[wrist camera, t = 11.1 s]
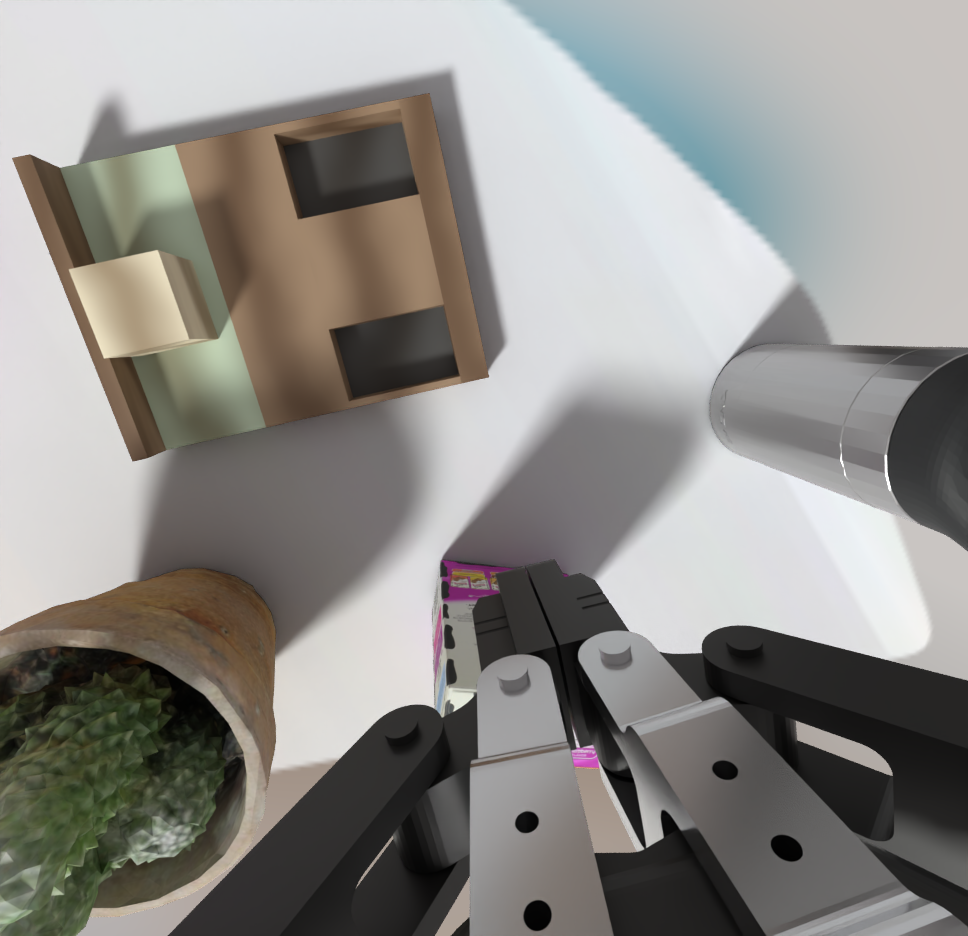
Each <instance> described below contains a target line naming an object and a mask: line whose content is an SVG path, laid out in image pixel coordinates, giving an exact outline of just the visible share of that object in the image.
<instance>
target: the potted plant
mask: <svg viewBox="0 0 968 936" xmlns="http://www.w3.org/2000/svg"><path fill="white" fill-rule="evenodd" d="M275 639H276V630H275V626H274V622H273V619H272V615H271V612H270V610H269V609H268V607H267V605H266V604H265V602H264V600H263V599H262V598H261V597H260V596H259V595H258V594H257V593H256V592H255V590H254V588H253V586H251V585H250V584H248V583H246V582H244V581H242V580H241V579H239V578H237V577H235V576H232V575H228V574H225V573H221V572H217V571H213V570H209V569H204V568H194V569H179V570H176V571H173V572H170V573H166V574H163V575H160V576H158V577H154V578H151V579H148V580H145V581H139V582H128V583H125V584H123V585H121V586H119V587H117V588H115V589H113V590H111V591H108V592H105V593H102V594H100V595H97V596H94V597H92V598H89V599H86V600H79V601H75V602H70V603H66V604H62V605H58V606H54V607H52V608H49V609H47V610H45V611H42V612H40V613H38V614H36V615H33V616H31V617H29V618H26V619H24V620H22V621H19V622H17V623H15V624H13V625H11V626H9V627H7V628H6V629H4V630H2V631H0V936H76V935H77V934H78V933H79V932H80V931H81V930H82V929H83V928H84V927H85V926H86V924H87V921H88V919H89V917H119V916H123V915H127V914H131V913H135V912H139V911H143V910H147V909H151V908H155V907H159V906H162V905H165V904H168V903H170V902H173V901H176V900H178V899H181V898H183V897H186V896H188V895H190V894H192V893H194V892H196V891H198V890H199V889H201V888H203V887H204V886H205V885H207V884H208V883H209V882H211V881H212V880H213V879H215V878H216V877H218V876H219V875H220V874H222V873H223V872H225V871H226V870H227V869H229V868H230V867H231V866H233V865H234V864H235V863H236V862H237V860H238V859H239V858H240V857H241V856H242V854H243V853H244V852H245V851H246V850H247V848H248V847H249V846H250V845H251V843H252V840H253V838H254V836H255V833H256V831H257V829H258V826H259V824H260V822H261V820H262V817H263V815H264V811H265V801H266V790H267V786H268V781H269V776H270V770H271V765H272V760H273V756H274V750H275V743H276V725H275V718H274V712H273V696H274V675H275Z"/></svg>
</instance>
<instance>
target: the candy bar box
mask: <svg viewBox="0 0 968 936" xmlns="http://www.w3.org/2000/svg"><path fill="white" fill-rule="evenodd" d="M511 569H515V568H505V567H497V566H488V565H480V564H471V563H462V562H454V561H446V560H441V561H440V567H439V573H438V579H437V585H436V591H435V597H434V603H433V609H432V625H433V657H434V660H433V662H434V695H435V710H437V711H438V712H439V713H440V715H441V717H444V716H446V715H448V714H450V713H452V712H454V711H456V710H457V709H459V708H461V707H462V706H464V705H465V704H466V703H468V702H469V701H470V700H471V699H472V698H473V697H474V695H475V694H476V693H477V681H478V678H479V676H480V674H481V667H480V661H479V654H478V648H477V641H476V634H475V628H474V621H473V615H472V610H473V608H474V606H475V604H476V602H477V600H478V599H479V598H481V597H485V596H489V595H493V594H497V593H499V589H498V585H497V580H496V575H495V573H499V572H503V571H507V570H511ZM525 571H526V570H525ZM526 574H527V573H526ZM563 575H564V577H567V576H569V575H567V574H563ZM573 732H574V730H573ZM574 737H575V742H576V747H577V749H576V750H572V751H571V753H572V757H573V762H574V767H575V768H591V769H600V768H599V763H598V757H597V754H596V751H595V749H594V746H593V745H591V746H587V747H583V748H580V746H579V743H578V741H577V738H576V735H575V733H574Z"/></svg>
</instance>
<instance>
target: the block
mask: <svg viewBox="0 0 968 936" xmlns="http://www.w3.org/2000/svg"><path fill="white" fill-rule="evenodd" d="M69 272H70V274H71V277H72V279H73V282H74V284H75V287H76V289H77V292H78V295H79V297H80V300H81V302H82V305H83V307H84V310H85V312H86V315H87V317H88V320H89V322H90V325H91V327H92V330H93V332H94V335H95V337H96V340H97V342H98V345H99V347H100V350H101V352H102V355H103V357H104V358H118V357H133V356H145V355H150V354H154V353H158V352H163V351H167V350H172V349H176V348H180V347H185V346H189V345H194V344H198V343H203V342H207V341H211V340H216V339H219V338H218V335H217V332H216V329H215V327H214V324H213V321H212V318H211V315H210V312H209V309H208V306H207V303H206V300H205V297H204V294H203V291H202V288H201V286H200V283H199V280H198V277H197V274H196V271H195V268H194V265H193V262H192V261H191V260H188V259H185V258H181V257H178V256H175V255H172V254H169V253H166V252H162V251H159V250H155V251H151V252H146V253H141V254H137V255H132V256H128V257H123V258H119V259H114V260H109V261H105V262H100V263H96V264H91V265H87V266H82V267H77V268H73V269H69Z"/></svg>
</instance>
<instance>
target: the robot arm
mask: <svg viewBox="0 0 968 936" xmlns="http://www.w3.org/2000/svg"><path fill="white" fill-rule="evenodd" d="M710 419H711V424H712V427H713V429H714V431H715V434H716V436H717V437H718V439H719V440H720V441H721V442H722V444H723V445H724V446H725V447H727V448H728V449H729V450H731V451H732V452H734V453H736V454H739V455H741V456H743V457H746V458H748V459H751V460H754V461H756V462H759V463H761V464H764V465H766V466H769V467H771V468H774V469H776V470H779V471H781V472H784V473H787V474H789V475H792V476H794V477H797V478H800V479H802V480H805V481H807V482H810V483H813V484H815V485H818V486H820V487H823V488H826V489H828V490H831V491H833V492H836V493H839V494H841V495H844V496H846V497H849V498H852V499H854V500H857V501H859V502H862V503H865V504H867V505H870V506H872V507H875V508H878V509H881V510H883V511H886V512H889V513H891V514H894V515H896V516H899V517H902V518H904V519H907V520H910V521H912V522H915V523H917V524H920V525H923V526H925V527H928V528H930V529H933V530H935V531H938V532H940V533H943V534H944V535H946V536H948V537H950V538H951V539H953V540H954V541H955V542H957V543H958V544H959V545H961V546H962V547H963V548H964V549H966V550H967V551H968V348H963V347H962V348H961V347H902V346H857V345H854V346H853V345H811V344H763V345H758V346H754V347H752V348H750V349H747V350H745V351H743V352H742V353H740V354H739V355H738V356H736V357H735V358H733V359H732V360H731V361H730V362H729V363H728V364H727V366H726V367H725V368H724V369H723V370H722V372H721V374H720V375H719V377H718V378H717V380H716V383H715V385H714V387H713V390H712V394H711V399H710ZM526 573H527V574H526ZM495 575H496V580H497V585H498V589H499V593H497V594H493V595H489V596H485V597H481V598H479V599H478V600H477V602H476V604H475V606H474V608H473V610H472V615H473V621H474V628H475V634H476V641H477V648H478V654H479V661H480V667H481V674H480V676H479V678H478V681H477V693H476V694H475V695H474V697H473V698H472V699H471V700H470V701H469V702H468V703H466V704H465V705H464V706H462V707H461V708H459V709H457V710H456V711H454V712H452V713H450V714H448V715H446V716H444V717H441V715H440V713H439V712H438V711H437V710H435V709H434V708H432V707H429V706H426V705H409V706H404V707H401V708H398V709H396V710H393V711H391V712H389V713H388V714H386V715H384V716H383V717H382V718H380V719H379V720H378V721H377V722H376V723H374V724H373V725H372V727H371V728H370V729H369V730H368V731H367V732H366V733H365V734H364V735H363V736H362V737H361V738H360V739H359V740H358V741H357V742H356V743H355V744H354V745H353V746H352V747H351V748H350V749H349V750H348V751H347V752H346V753H345V754H344V755H343V756H342V757H341V758H340V759H339V760H338V761H337V762H336V764H335V765H334V766H333V767H332V768H331V769H330V770H329V771H328V772H327V773H326V774H325V775H324V776H323V777H322V778H321V779H320V780H319V781H318V782H317V783H316V784H315V785H314V786H313V787H312V788H311V789H310V790H309V792H307V794H305V795H304V796H303V798H301V799H300V800H299V802H298V803H297V804H296V805H295V806H294V807H293V808H292V809H291V810H290V811H289V812H288V813H287V814H286V815H285V816H284V817H283V818H282V819H281V820H280V821H279V822H278V823H277V824H276V825H275V826H274V827H273V828H272V829H271V830H270V831H269V832H268V834H266V835H265V836H264V838H263V839H262V840H261V841H260V842H259V843H258V844H257V845H256V846H255V847H254V848H253V849H252V850H251V851H250V852H249V853H248V854H247V855H246V856H245V857H244V858H243V859H242V860H241V861H240V862H239V863H238V864H237V865H236V866H235V867H234V868H233V869H232V871H230V872H229V874H227V876H226V877H225V878H224V879H223V880H222V881H221V882H220V883H219V884H218V885H217V886H216V887H215V888H214V889H213V890H212V891H211V892H210V893H209V894H208V895H207V896H206V897H205V898H204V899H203V900H202V901H201V902H200V903H199V904H198V905H197V906H196V907H195V908H194V910H192V912H191V913H190V914H189V915H188V916H187V917H186V918H185V919H184V920H183V921H182V922H181V923H180V924H179V925H178V926H177V927H176V928H175V929H174V930H173V931H172V932H171V933H170V934H169V935H168V936H435V934H436V933H437V931H438V929H439V927H440V926H441V924H442V922H443V921H444V919H445V917H446V916H447V914H448V912H449V910H450V909H451V907H452V905H453V904H454V902H455V900H456V899H457V897H458V895H459V893H460V892H461V890H462V888H463V886H464V885H465V883H466V881H467V880H468V878H469V876H470V917H469V918H468V919H467V920H466V921H465V922H464V923H463V924H462V925H461V926H460V927H459V928H457V929H456V931H455V932H454V933H453V934H452V935H451V936H968V681H967V680H963V679H959V678H955V677H951V676H947V675H943V674H939V673H935V672H932V671H928V670H924V669H920V668H916V667H912V666H908V665H903V664H900V663H896V662H892V661H888V660H884V659H880V658H876V657H872V656H869V655H865V654H861V653H857V652H853V651H849V650H845V649H841V648H837V647H833V646H829V645H825V644H821V643H817V642H813V641H809V640H805V639H801V638H798V637H794V636H790V635H786V634H782V633H778V632H774V631H770V630H766V629H762V628H758V627H753V626H729V627H724V628H720V629H717V630H715V631H713V632H711V633H710V634H708V635H707V636H706V637H705V639H704V640H703V643H702V653H696V654H669V653H662V652H659V651H658V650H657V649H656V648H655V647H654V646H653V645H652V644H651V642H650V641H649V640H647V639H646V638H645V637H643V636H641V635H639V634H637V633H633V632H629V630H628V629H627V627H626V626H625V624H624V623H623V621H622V620H621V618H620V617H619V615H618V614H617V612H616V611H615V609H614V608H613V606H612V605H611V603H609V600H608V599H607V597H606V596H605V594H603V592H602V590H601V589H600V587H599V586H598V584H597V583H596V581H595V580H593V579H591V578H589V577H587V576H585V575H583V574H581V573H579V574H575V575H571V576H567V577H564V575H563V573H562V572H561V570H560V568H559V566H558V564H557V563H556V561H555V559H552V560H548V561H544V562H540V563H536V564H532V565H528V566H526V571H525V569H524V567H520V568H515V569H511V570H507V571H503V572H499V573H495ZM796 721H799V722H801V723H804V724H807V725H810V726H813V727H815V728H819V729H821V730H824V731H827V732H830V733H832V734H835V735H838V736H841V737H844V738H846V739H849V740H852V741H855V742H858V743H860V744H863V745H865V746H868V747H869V748H871V749H873V750H874V751H876V752H877V753H878V754H880V755H881V756H882V757H883V758H884V759H885V760H886V762H887V763H888V764H889V766H890V768H891V770H892V772H893V776H890V775H886V774H884V773H882V772H879V771H876V770H874V769H871V768H868V767H865V766H863V765H861V764H858V763H855V762H853V761H850V760H847V759H845V758H842V757H840V756H837V755H834V754H832V753H829V752H826V751H824V750H821V749H819V748H816V747H813V746H810V745H808V744H805V743H803V742H800V741H798V740H797V732H796ZM573 730H574V732H573ZM574 733H575V735H576V738H577V741H578V743H579V746H580V748H583V747H587V746H591V745H593V746H594V749H595V751H596V754H597V757H598V763H599V768H600V773H601V778H602V781H603V783H604V785H605V787H606V789H607V791H608V794H609V796H610V797H611V800H612V801H613V804H614V806H615V808H616V810H617V812H618V814H619V816H620V818H621V820H622V822H623V824H624V826H625V828H626V830H627V832H628V834H629V836H630V839H631V841H632V843H633V845H634V847H635V849H636V851H637V852H633V853H594V850H593V846H592V841H591V838H590V833H589V829H588V825H587V820H586V816H585V811H584V807H583V803H582V799H581V794H580V790H579V786H578V782H577V777H576V774H575V767H574V762H573V757H572V753H571V751H572V750H576V749H577V747H576V742H575V737H574ZM392 835H393V838H394V839H393V840H392V841H391V843H390V844H389V846H388V847H387V848H386V849H385V851H384V852H383V853H382V855H381V856H380V857H379V859H378V860H377V861H376V863H375V864H374V865H373V867H372V868H371V869H370V871H369V872H368V873H367V875H366V876H365V877H364V879H363V880H362V881H361V883H360V884H359V885H358V887H357V888H356V886H357V884H358V882H359V880H360V878H361V877H362V875H363V874H364V872H365V871H366V870H367V868H368V867H369V866H370V864H371V863H372V862H373V860H374V859H375V858H376V856H377V855H378V854H379V852H380V851H381V850H382V849H383V847H384V846H385V845H386V843H387V842H388V840H389V839H390V838H391V837H392Z"/></svg>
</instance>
